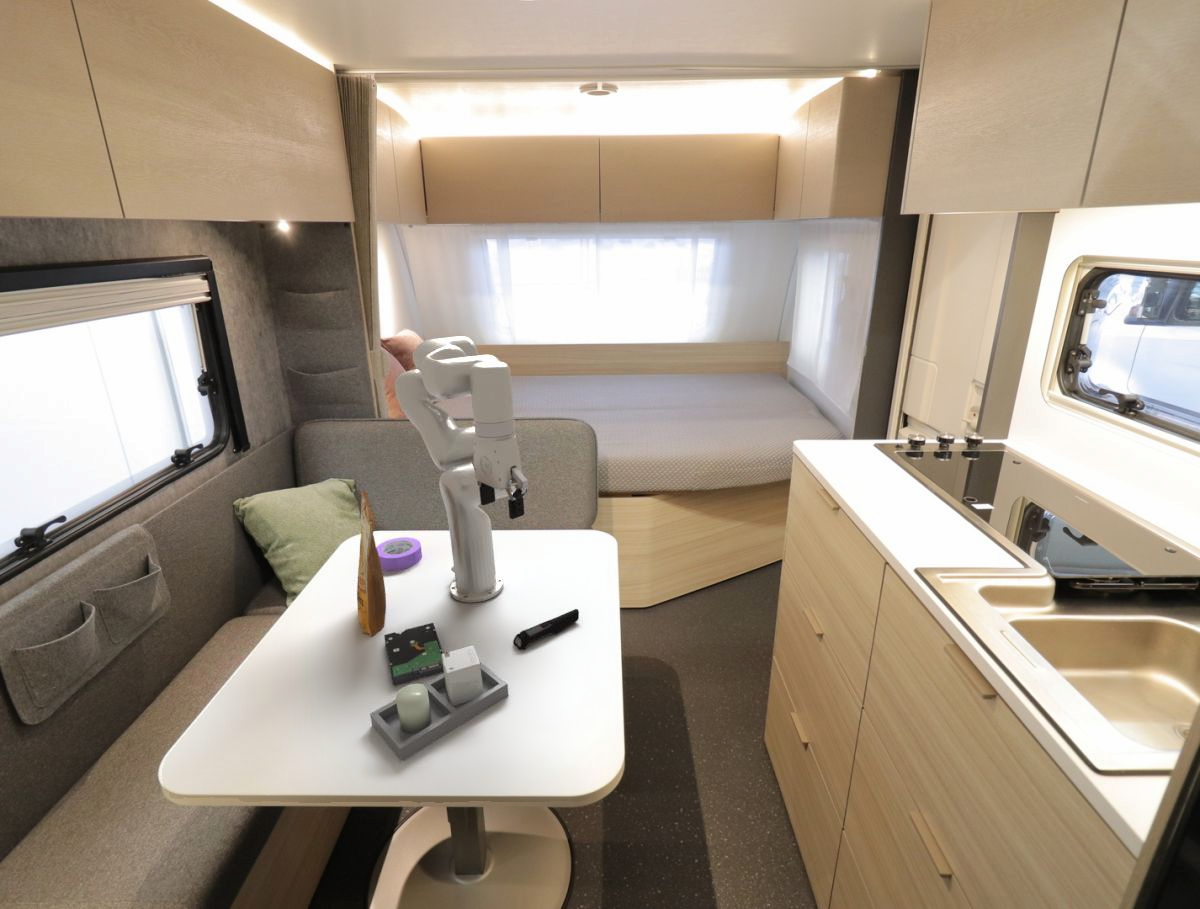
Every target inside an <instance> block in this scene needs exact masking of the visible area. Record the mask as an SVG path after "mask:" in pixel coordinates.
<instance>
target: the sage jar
mask: <svg viewBox="0 0 1200 909" xmlns="http://www.w3.org/2000/svg"><path fill="white" fill-rule="evenodd" d="M395 700H396V703H397V709H398V715H399V721H400V726H401V730H402V731H403V732H405V733H407V734H416V733H419V732H420V731H422V730H424V729H425V728H427V727H429V725H430V724H431V721H432V717H431V710H430V704H429V697H428V690H427V688H426V686H424V685H423V684H421V683H411V684H408V685H405V686H404V687H402V688H400V689H399V690H398V691H397V693H396V694H395Z"/></svg>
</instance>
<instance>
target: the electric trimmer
mask: <svg viewBox="0 0 1200 909" xmlns="http://www.w3.org/2000/svg"><path fill="white" fill-rule="evenodd" d="M579 616H580V610H579V609H577V608H575V609H572V610H570V611H568V612H565V613H563V614H561V615H558V616H556V617H554V618H552V619H549V620H546V621H543V622H542V623H539V624H536V625H534V626H532V627H530V628H527V629H525V630H521V631H520V632H519V633H517V634H516V635H515V637H514V639H513V641H512V643H513V645H514V646H515V648H516V649H517V650H519V651H522V650H523V651H525V650H527V648H528V646H529V645H531V644H533V643H535V642H537V641H539V640H541V639H543V638H545V637H547V636H550V635H551V634H554V635H555V634H559V633H560V632H562V631H563V630H565V629H567V628H568V627H570V626H572V625H573V624H574V623H576V622H578V621H579V618H580V617H579Z"/></svg>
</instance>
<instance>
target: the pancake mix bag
mask: <svg viewBox="0 0 1200 909" xmlns="http://www.w3.org/2000/svg"><path fill="white" fill-rule="evenodd" d="M359 490H360V493H361V503H360V504H361V506H360V542H359V559H358V568H357V586H356V600H357V602H356V603H357V613H358V620H359V625H360V629H361V632H362V634H368V635H369V636H370V638H372V637H374V636H375V635H377V634H378V633H380V632H381V631H382V629H383V628H384V627H385V622H386V615H387V614H386V613H387V612H386V611H387V593H386V586H385V579H384V573H383V572H384V571H383V569H382V567H381V562H380V558H379V554H378V551H377V549H376V547H377V545H376V541H375V536H374V531H375V527H376V526H375V515H374V512H373V510H372V508H371V506H370V499H369V493H368V492H367V491H366V490H364V489H363V488H360V489H359Z"/></svg>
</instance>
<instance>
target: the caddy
mask: <svg viewBox="0 0 1200 909" xmlns="http://www.w3.org/2000/svg"><path fill="white" fill-rule="evenodd" d="M479 662H480V668H481V676H482V684H483V691H484V694H482V695H480V696H479V697H477V698H475V699H474V700H472V701H468V702H465V703H462V704H459V705H455V706H452V705H451V703H450V700H449V697H448V693H447V690H446V683H445V676H444V673H441V674H440V675H438V676H436V677H434V678H432V679H430V680H429V681H427V682H425V683H423V684H422V685H424V686H426V688H427V690H428V697H429V704H430V710H431V717H432V721H431V724H430V725H429V727H427V728H425V729H424V730H422V731H420V732H419V733H416V734H407V733H405V732H403V731H402V730H401V726H400V721H399V715H398V709H397V703H396V699H394V700H392V701H391V702H389V703H387V704H385V705H383V706H381V707H380V708H378V709H376V710H374V711H372V712H371V713H370V714H369V716H370V720H371V721H370V722H371V726H372V727H373V729H374V730H375V731H376V732H377V733H378V734H379V736H380V737H381V738H382V740H383V741H384V742H385V743H386V744H387V745H388V746H389V748H390V749H391V750H392V751H393V752H394V754H395V755H396V756H397V757H398V758H399V760H400V762H404V761H406V759H409V758H410V757H412V756H413V755H415V754H417V753H418V752H420V751H422V750H423V749H425V748H426V747H428V746H429V745H431V744H432V743H434V742H435V741H438V740H439V739H441V738H442V737H444V736H446V735H448V734H449V733H450V732H453V730H455V729H457V728H458V727H460V726H461V725H463V724H465V723H466V722H468V721H469V720H471V719H473V718H475V717H476V716H478V715H480V714H481V713H482V712H484V711H486V710H488V709H490V708H491V707H492V706H494V705H496V704H497V703H499V702H500V701H502V700H503V699H505V698H507V697H508V696H509V686H508V685H509V684H508V683H507V682H506V681H505V680H503V679H502V678H501V677H500V676H499V675H497V673H495V672H494V671H492V670H491V669H490V668H489V667H487V666H486V665H485V664H484V663H483V662H482V661H480V660H479Z"/></svg>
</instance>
